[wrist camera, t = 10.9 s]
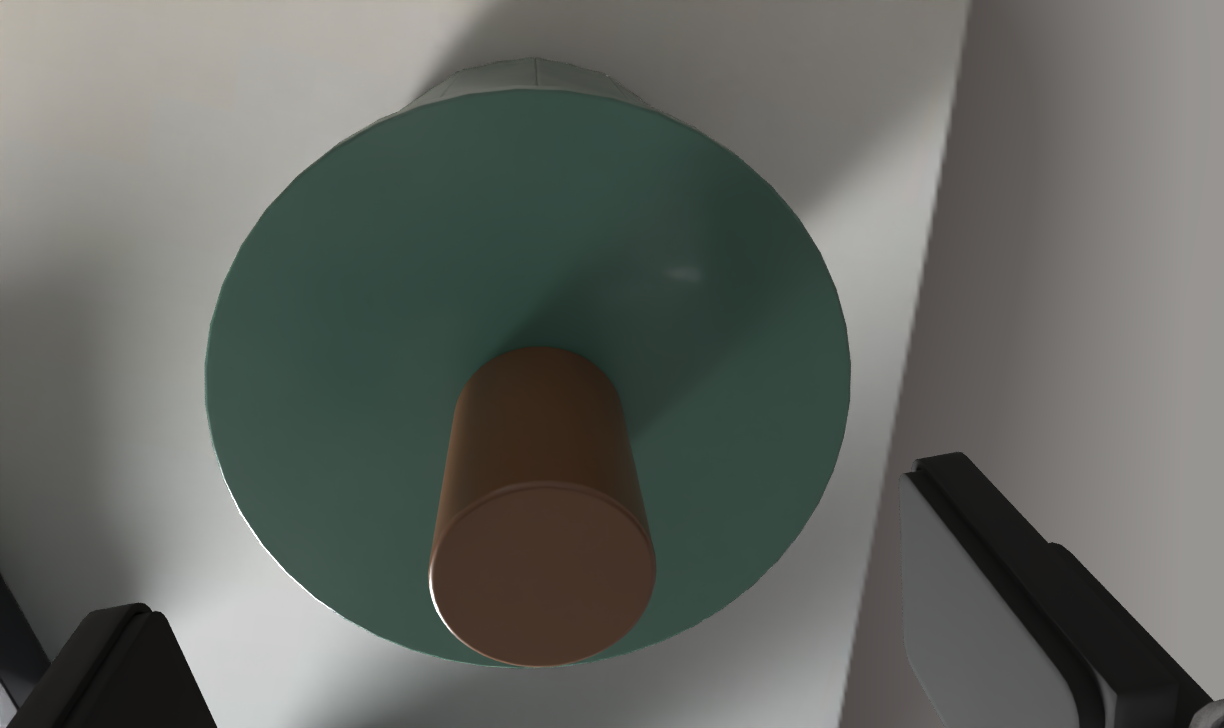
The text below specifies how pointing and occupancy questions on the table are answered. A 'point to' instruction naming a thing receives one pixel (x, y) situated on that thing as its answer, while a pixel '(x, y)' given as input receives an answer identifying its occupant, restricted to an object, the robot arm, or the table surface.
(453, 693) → the table surface
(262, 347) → the tin lid
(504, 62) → the tin
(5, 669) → the button block
